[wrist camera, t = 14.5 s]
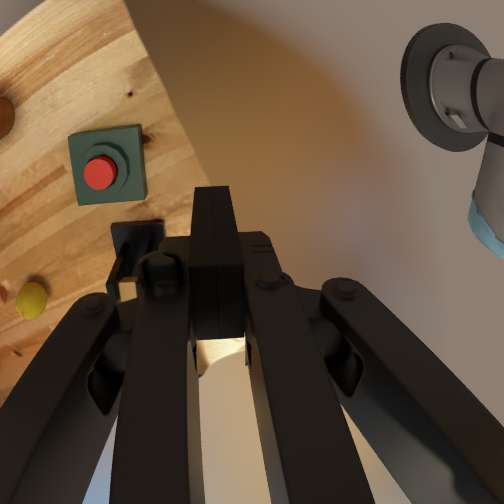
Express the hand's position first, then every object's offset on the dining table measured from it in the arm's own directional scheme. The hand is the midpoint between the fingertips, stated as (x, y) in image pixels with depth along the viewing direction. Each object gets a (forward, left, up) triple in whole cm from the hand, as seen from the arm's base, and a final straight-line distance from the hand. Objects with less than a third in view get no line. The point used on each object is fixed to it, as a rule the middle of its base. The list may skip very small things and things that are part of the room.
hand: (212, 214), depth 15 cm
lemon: (+32, +24, -30) cm, 50 cm away
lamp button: (+14, +4, -26) cm, 30 cm away
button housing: (+14, +4, -29) cm, 33 cm away
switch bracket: (+11, +18, -29) cm, 36 cm away
